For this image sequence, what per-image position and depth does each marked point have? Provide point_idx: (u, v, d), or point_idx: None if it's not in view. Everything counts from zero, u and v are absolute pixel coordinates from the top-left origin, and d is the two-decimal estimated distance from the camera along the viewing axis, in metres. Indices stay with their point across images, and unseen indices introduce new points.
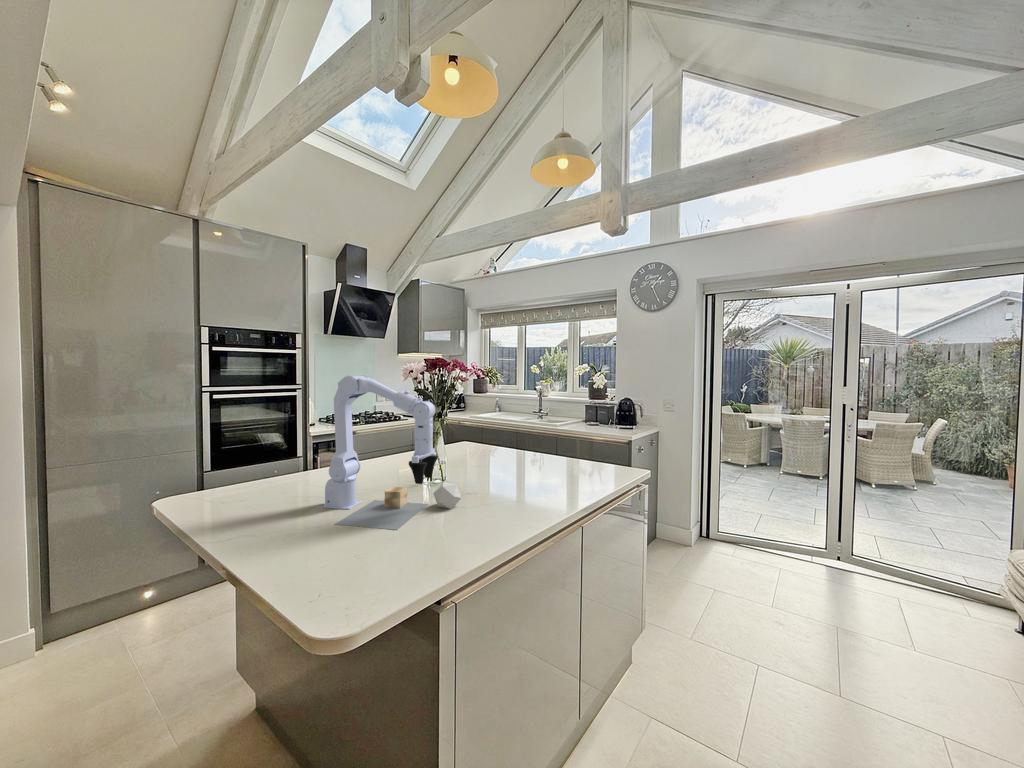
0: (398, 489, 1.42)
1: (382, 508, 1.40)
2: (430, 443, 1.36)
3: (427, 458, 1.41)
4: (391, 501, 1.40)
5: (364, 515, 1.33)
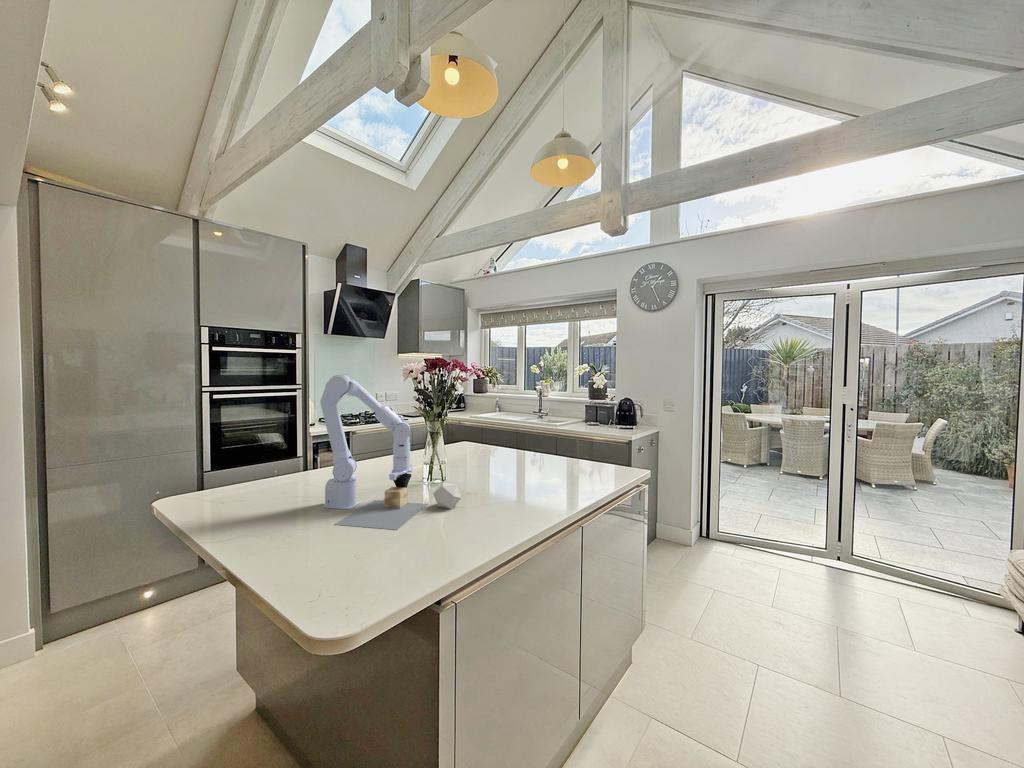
0: (398, 489, 1.43)
1: (382, 508, 1.40)
2: (407, 461, 1.45)
3: None
4: (391, 501, 1.40)
5: (364, 515, 1.33)
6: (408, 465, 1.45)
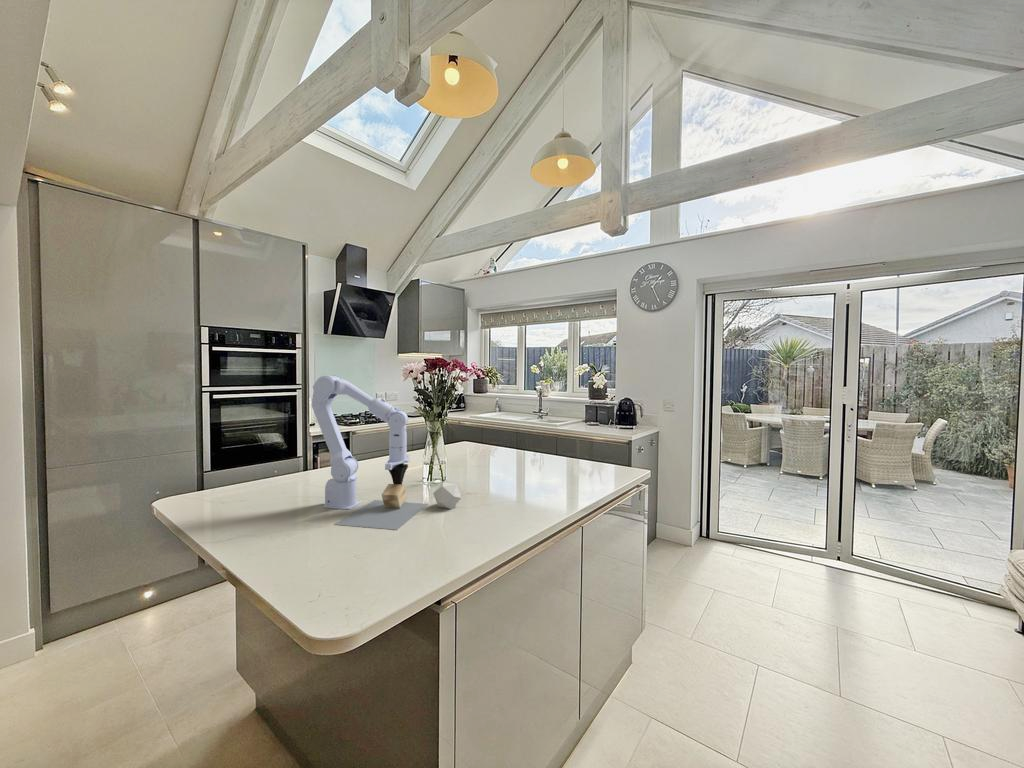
0: (394, 489, 1.40)
1: (382, 508, 1.40)
2: (404, 451, 1.42)
3: None
4: (390, 502, 1.39)
5: (364, 515, 1.33)
6: (404, 455, 1.42)
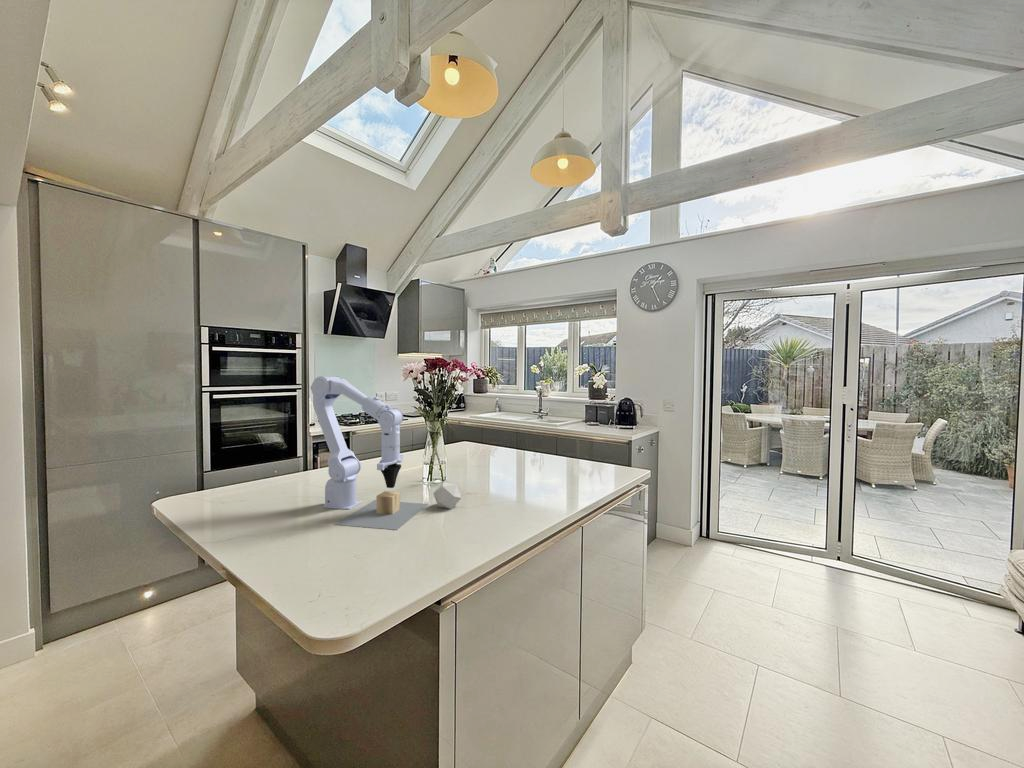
0: (386, 504, 1.34)
1: None
2: (397, 450, 1.37)
3: None
4: None
5: (364, 515, 1.33)
6: (397, 455, 1.37)
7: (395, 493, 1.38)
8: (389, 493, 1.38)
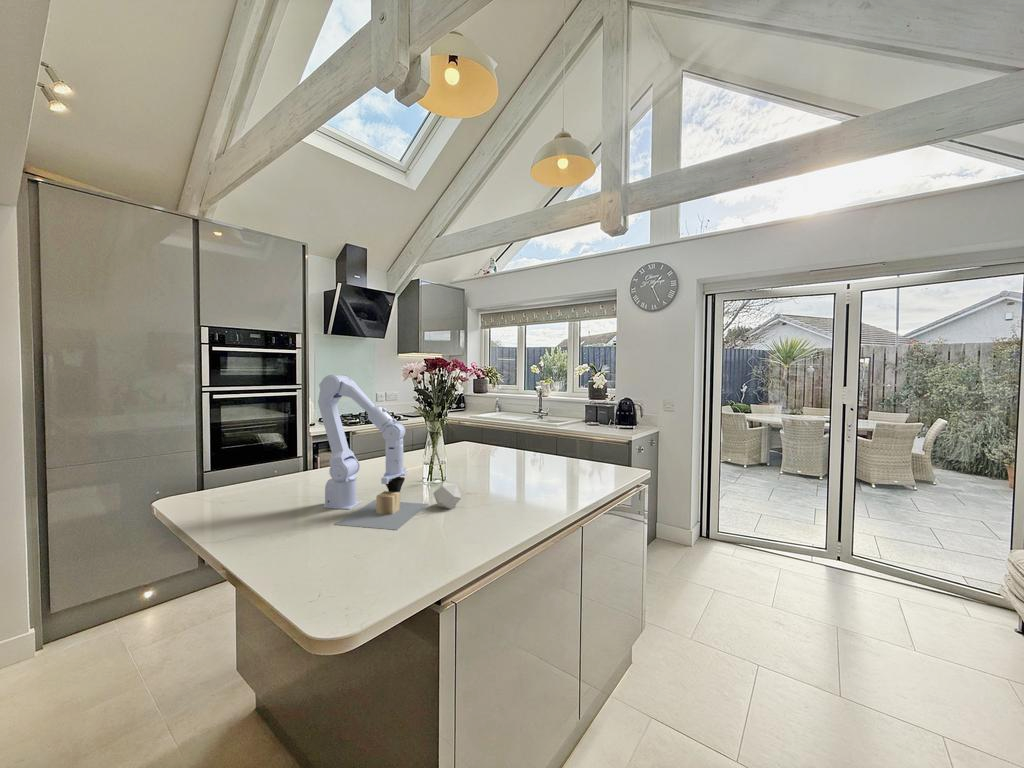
0: (386, 504, 1.34)
1: None
2: (400, 464, 1.39)
3: None
4: None
5: (364, 515, 1.33)
6: (401, 468, 1.40)
7: (395, 493, 1.38)
8: (389, 493, 1.38)
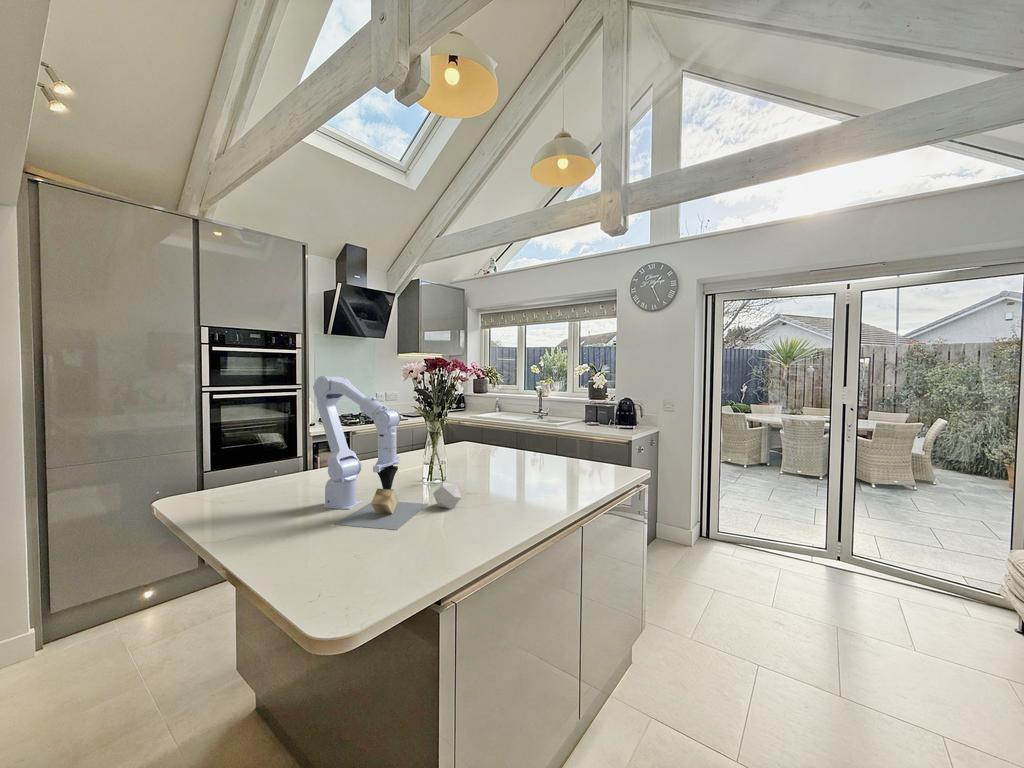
0: (383, 508, 1.33)
1: None
2: (393, 452, 1.34)
3: None
4: None
5: (364, 515, 1.33)
6: (394, 457, 1.35)
7: (389, 493, 1.33)
8: (383, 494, 1.33)
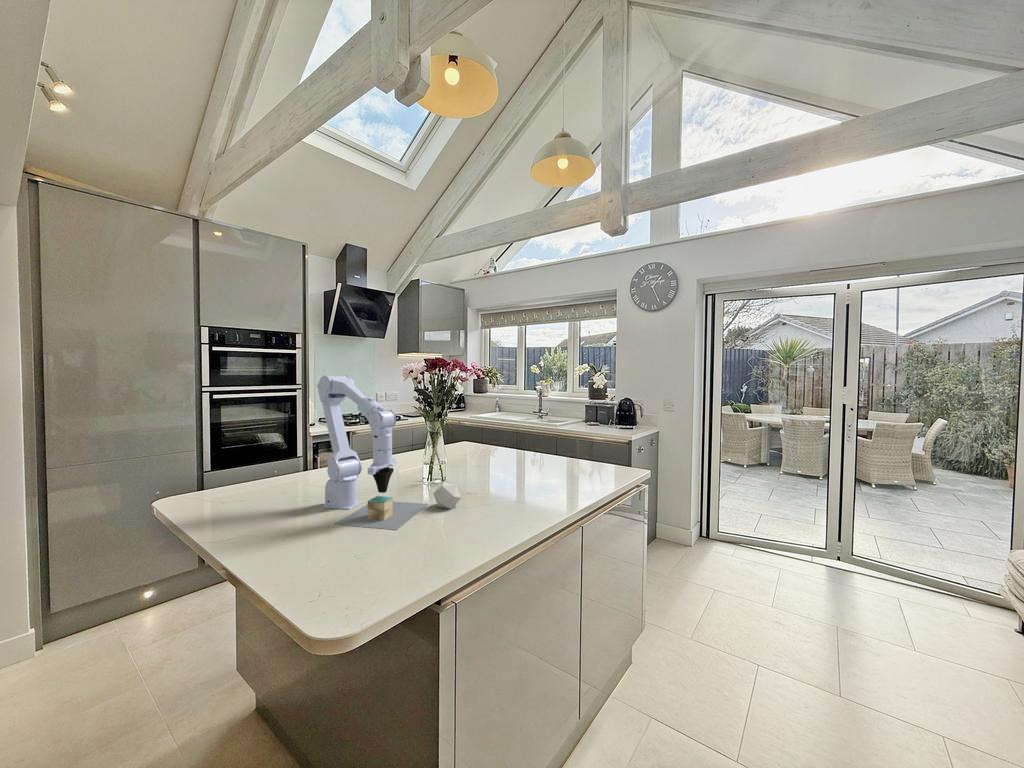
0: None
1: None
2: (389, 453, 1.31)
3: None
4: None
5: (364, 515, 1.33)
6: (389, 458, 1.32)
7: (381, 507, 1.29)
8: (376, 508, 1.29)
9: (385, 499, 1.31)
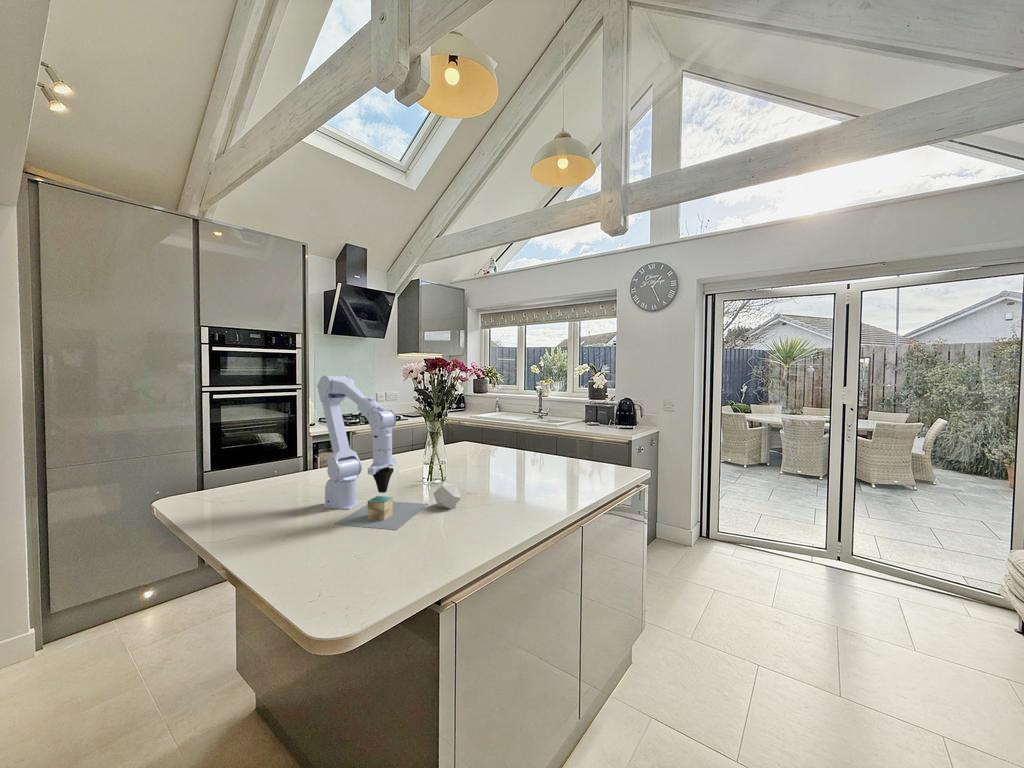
0: None
1: None
2: (389, 453, 1.31)
3: None
4: None
5: (364, 515, 1.33)
6: (389, 458, 1.32)
7: (381, 507, 1.29)
8: (376, 508, 1.29)
9: (385, 499, 1.31)
